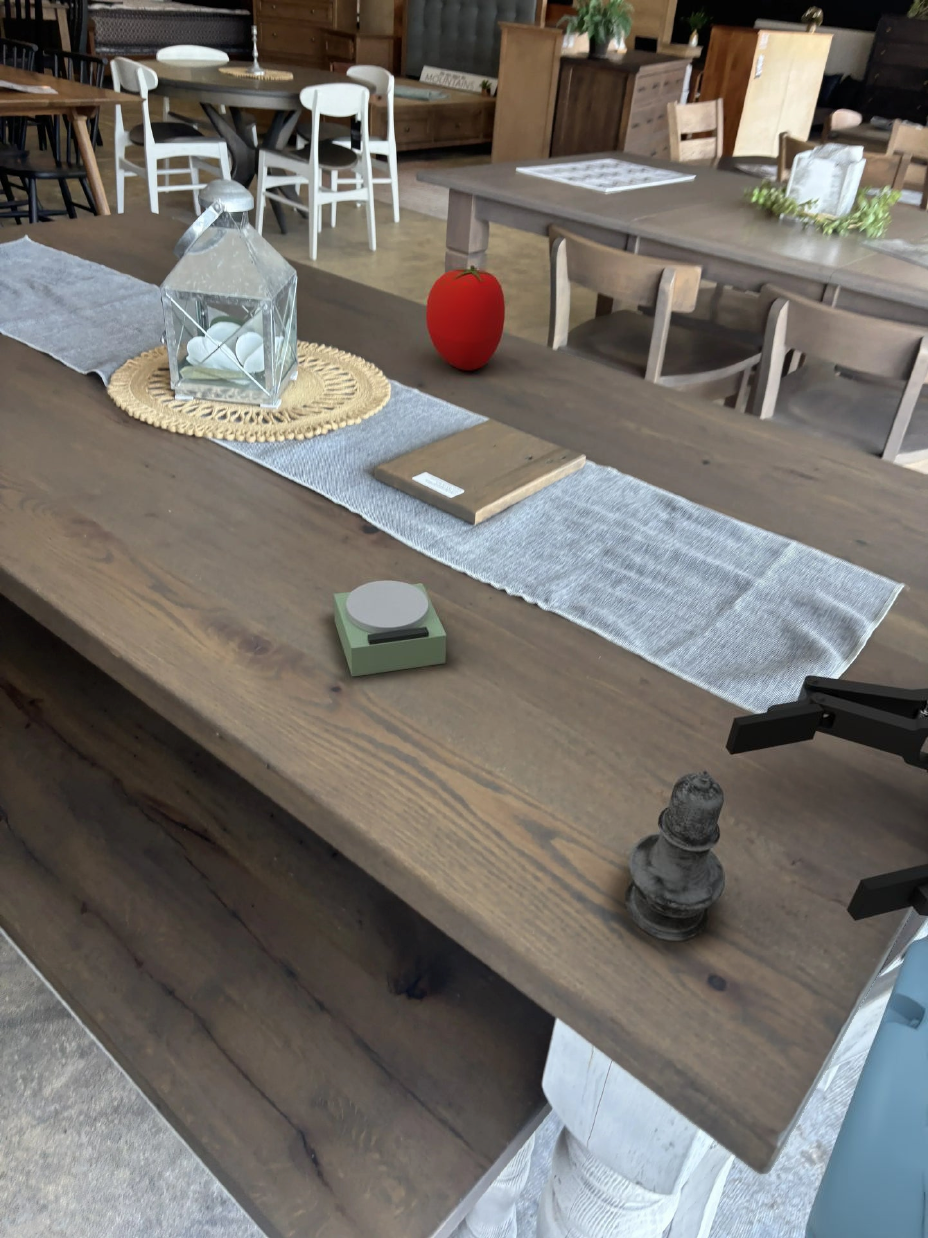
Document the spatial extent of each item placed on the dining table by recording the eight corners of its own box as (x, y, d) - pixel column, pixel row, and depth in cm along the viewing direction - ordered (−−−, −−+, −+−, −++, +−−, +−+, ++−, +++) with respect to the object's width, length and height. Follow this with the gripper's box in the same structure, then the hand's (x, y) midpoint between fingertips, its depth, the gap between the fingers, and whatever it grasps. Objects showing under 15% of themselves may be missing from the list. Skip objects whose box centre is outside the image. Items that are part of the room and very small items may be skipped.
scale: (445, 663, 77) (447, 627, 75) (351, 677, 75) (351, 640, 72) (421, 610, 83) (422, 575, 81) (334, 621, 81) (333, 585, 79)
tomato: (505, 381, 130) (513, 279, 122) (426, 379, 129) (429, 276, 121) (495, 350, 140) (502, 255, 132) (422, 349, 139) (425, 252, 131)
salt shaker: (704, 959, 55) (751, 824, 48) (610, 925, 56) (642, 790, 49) (719, 886, 59) (764, 753, 52) (631, 856, 61) (664, 723, 54)
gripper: (1198, 943, 54) (902, 1031, 48) (917, 681, 73) (682, 722, 68) (1270, 860, 50) (953, 946, 44) (951, 604, 69) (702, 642, 63)
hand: (788, 811), depth 56 cm, fingers open, 13 cm apart
